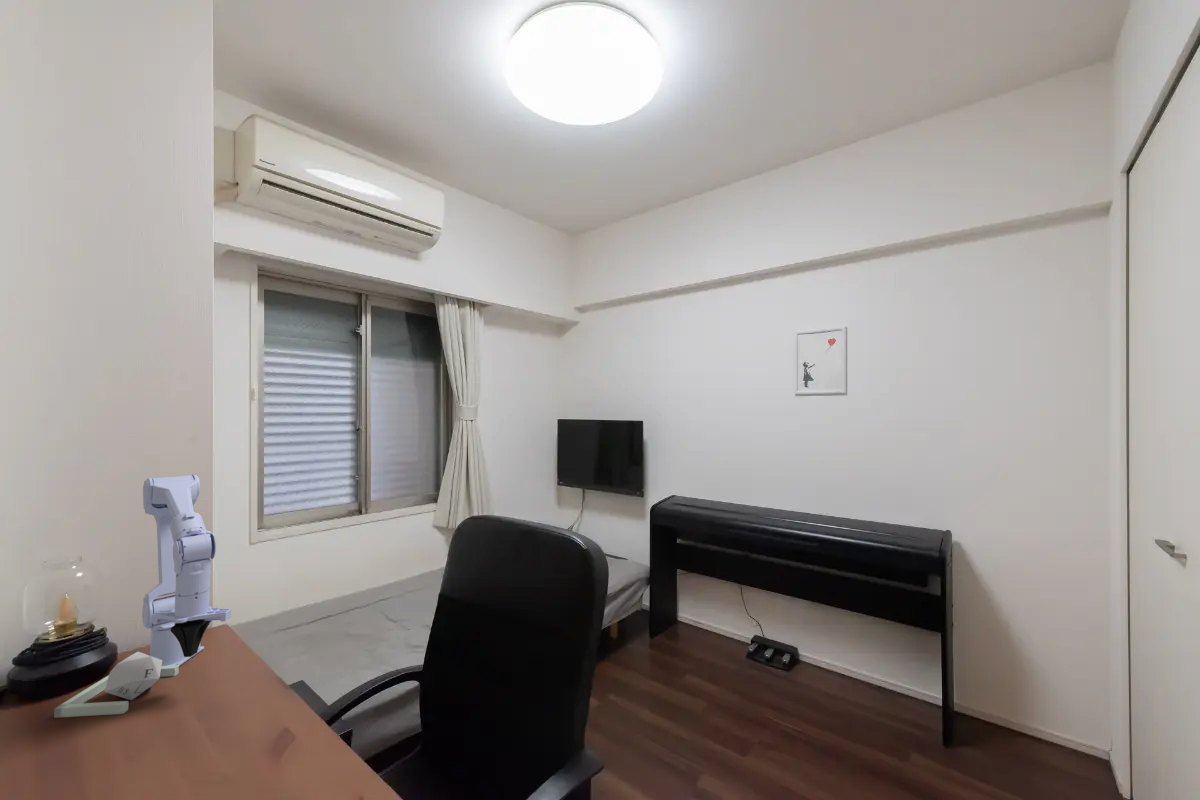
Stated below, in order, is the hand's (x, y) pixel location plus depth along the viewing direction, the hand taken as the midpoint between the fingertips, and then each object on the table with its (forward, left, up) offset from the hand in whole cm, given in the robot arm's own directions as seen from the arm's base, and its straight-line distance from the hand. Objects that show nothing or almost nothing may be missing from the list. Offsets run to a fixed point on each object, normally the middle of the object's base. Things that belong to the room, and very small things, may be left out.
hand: (190, 654), depth 101 cm
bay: (0, -13, -8) cm, 15 cm away
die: (0, -11, -8) cm, 13 cm away
